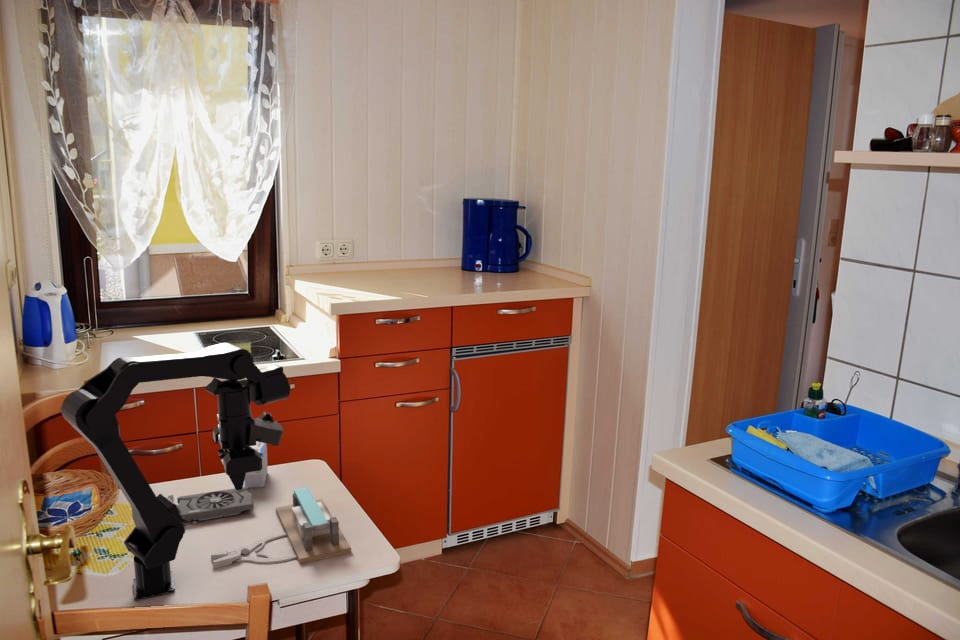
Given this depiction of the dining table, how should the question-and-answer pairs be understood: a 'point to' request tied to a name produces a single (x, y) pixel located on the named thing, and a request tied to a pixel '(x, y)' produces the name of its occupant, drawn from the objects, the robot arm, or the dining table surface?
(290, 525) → the board
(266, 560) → the pliers
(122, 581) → the dining table surface
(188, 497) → the graphics card
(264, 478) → the medicine box
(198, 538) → the dining table surface
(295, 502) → the block
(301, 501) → the lever
